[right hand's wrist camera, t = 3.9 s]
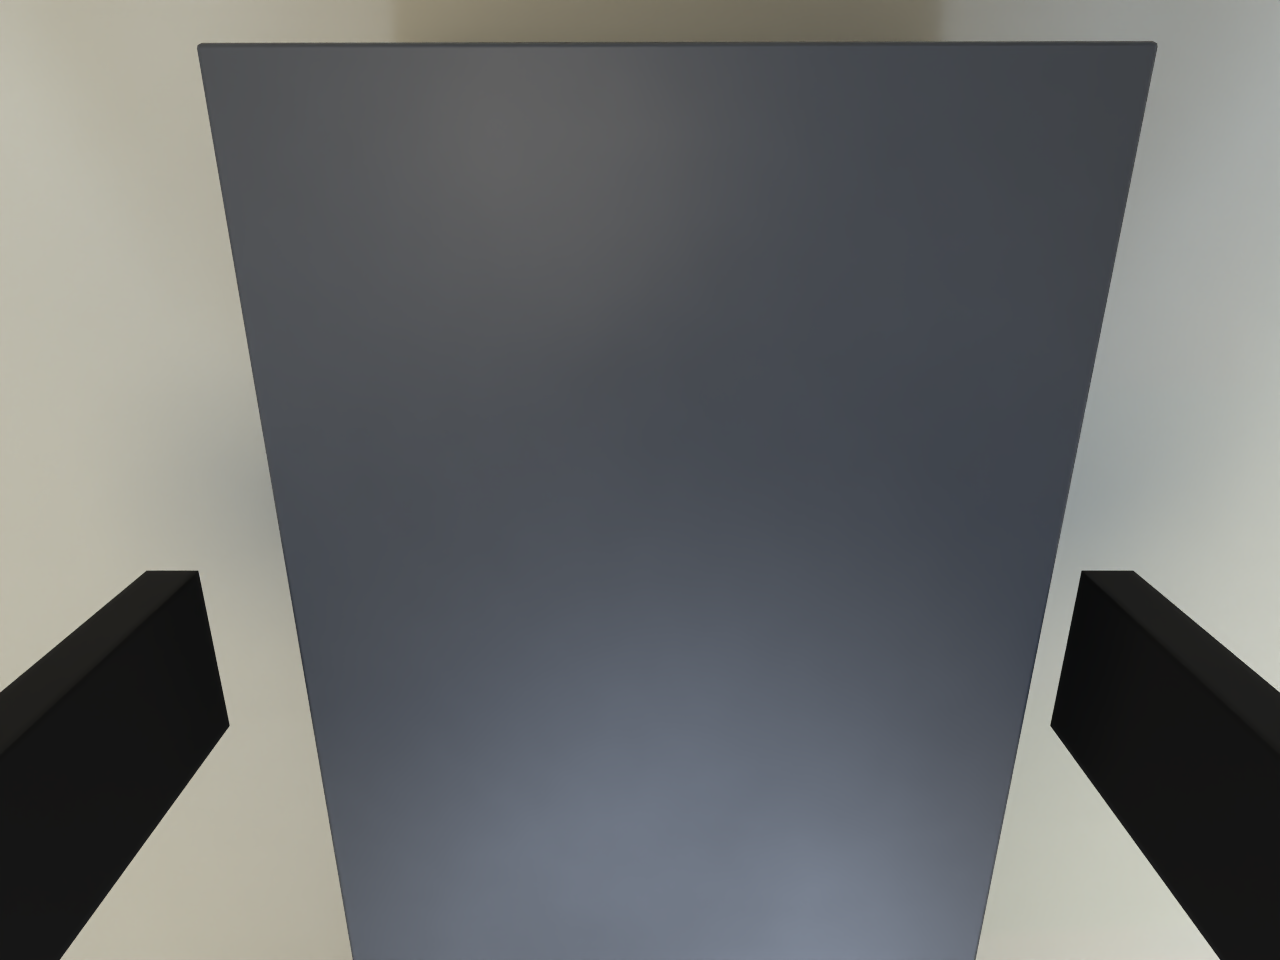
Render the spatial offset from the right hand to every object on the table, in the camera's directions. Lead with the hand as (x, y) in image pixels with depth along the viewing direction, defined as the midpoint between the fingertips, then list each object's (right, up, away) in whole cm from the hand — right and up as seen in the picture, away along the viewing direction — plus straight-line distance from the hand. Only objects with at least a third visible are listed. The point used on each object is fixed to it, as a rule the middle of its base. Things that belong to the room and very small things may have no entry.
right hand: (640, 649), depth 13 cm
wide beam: (0, -18, +13) cm, 22 cm away
